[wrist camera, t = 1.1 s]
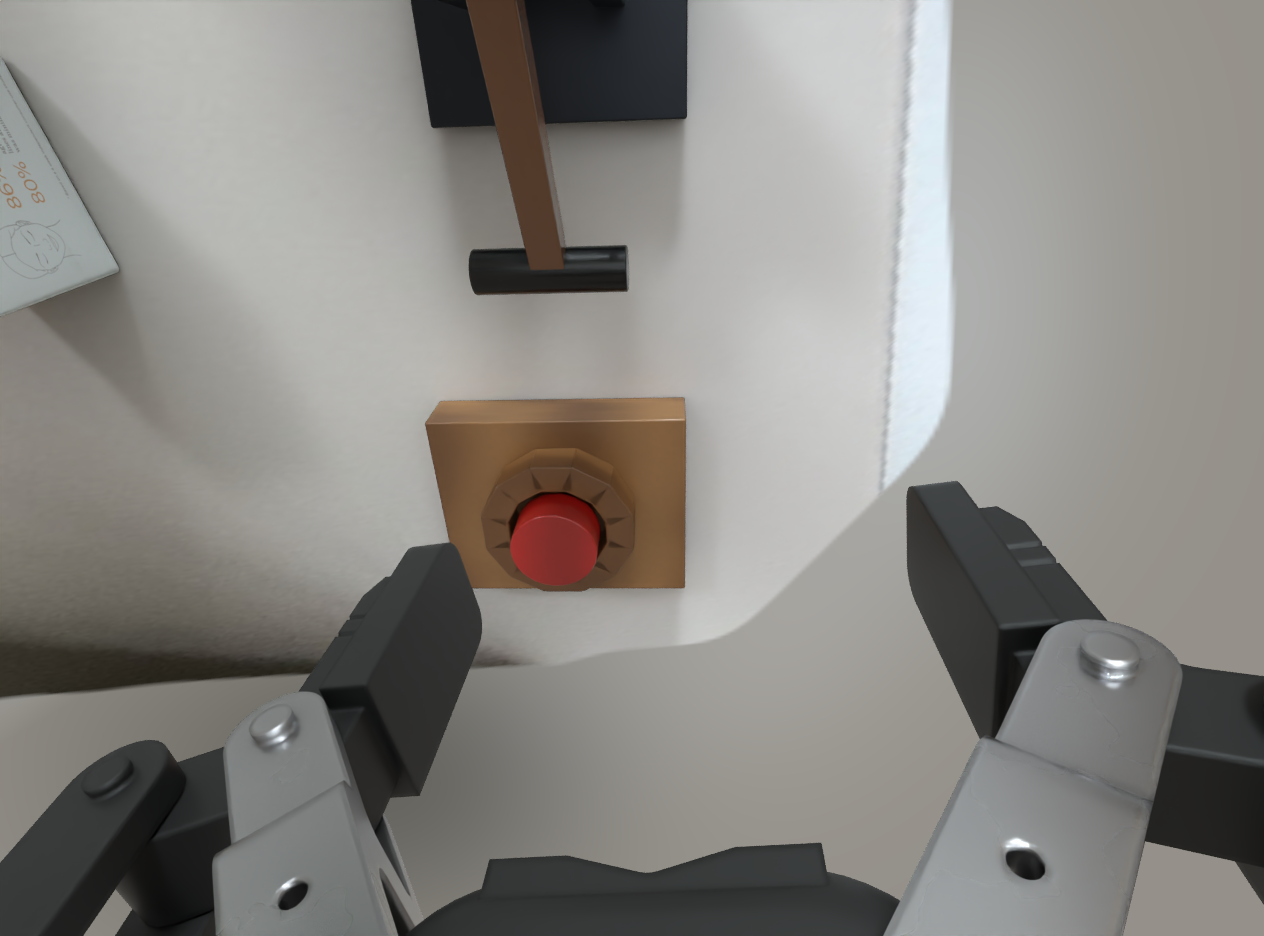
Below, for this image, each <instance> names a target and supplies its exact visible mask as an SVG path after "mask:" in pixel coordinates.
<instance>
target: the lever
mask: <svg viewBox="0 0 1264 936" xmlns="http://www.w3.org/2000/svg"><path fill="white" fill-rule="evenodd" d="M466 3H467V7H468V11H469V16H470V20H471V24H472V28H473V32H474V37H475V41H476V45H477V49H478V53H479V58H480V62H481V66H482V70H483V74H484V79H485V83H486V87H487V91H488V95H489V100H490V104H491V108H492V112H493V116H494V120H495V125H496V129H497V133H498V137H499V141H500V146H501V150H502V154H503V158H504V162H505V167H506V171H507V175H508V179H509V183H510V188H511V192H512V196H513V200H514V204H515V209H516V213H517V217H518V221H519V225H520V229H521V234H522V238H523V242H524V246H525V248H501V249H473V250H472V251H471V253H470V256H469V277H470V282H471V286H472V289H473V291H474V293H475V294H476V295H508V294H551V293H594V292H627V291H628V289H629V259H628V248H627V246H626V245H614V246H576V247H566V243H565V237H564V231H563V225H562V219H561V214H560V208H559V202H558V196H557V190H556V184H555V179H554V173H553V167H552V161H551V155H550V149H549V143H548V138H547V132H546V126H545V120H544V114H543V108H542V102H541V97H540V91H539V85H538V79H537V73H536V67H535V62H534V56H533V50H532V44H531V38H530V32H529V26H528V21H527V15H526V9H525V3H524V0H466Z"/></svg>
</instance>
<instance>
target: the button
mask: <svg viewBox="0 0 1264 936" xmlns="http://www.w3.org/2000/svg"><path fill="white" fill-rule="evenodd" d="M599 539H600V524H599V520H598V518H597V516H596V514H595V513H594V511H593V510H592V509H591V508H590V507H589V506H588V505H587V504H586V503H584V502H583V501H582V500H580V499H578V498H576V497H573V496H570V495H567V494H559V493H552V494H545V495H542V496H539V497H537V498H534V499H533V500H531V501H530V502H529V503H527V504H526V505H525V506H524V508H523V509H522V511H521V512H520V514H519V517H518V520H517V523H516V526H515V529H514V532H513V535H512V539H511V542H510V552H511V556H512V559H513V561H514V563H515V565H516V566H517V567H518V569H519V570H520V571H521V572H522V573H523V574H525V575H526V576H527V577H529V578H530V579H532V580H534V581H536V582H539V583H542V584H546V585H552V586H562V585H568V584H572V583H575V582H577V581H579V580H581V579H583V578H584V577H585V576H587V575H588V574H589V573H590V571H591V570H592V569H593V567H594V565H595V563H596V559H597V553H598V546H599Z"/></svg>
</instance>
